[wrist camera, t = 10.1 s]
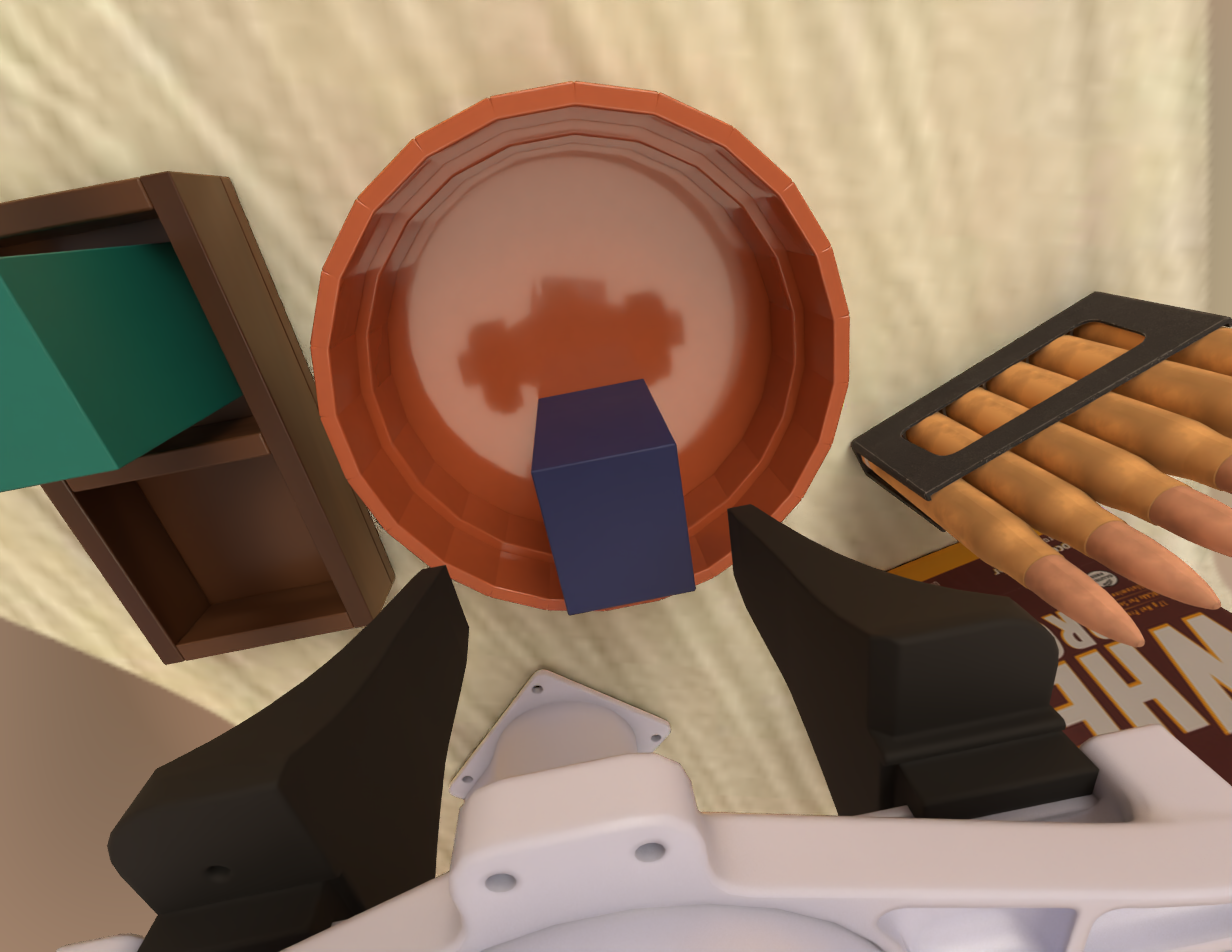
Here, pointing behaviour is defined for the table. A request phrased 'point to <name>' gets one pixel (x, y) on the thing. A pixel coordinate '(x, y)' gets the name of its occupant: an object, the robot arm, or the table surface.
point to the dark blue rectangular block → (611, 497)
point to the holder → (216, 446)
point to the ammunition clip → (1077, 453)
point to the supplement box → (1120, 655)
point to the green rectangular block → (100, 361)
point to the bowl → (574, 322)
